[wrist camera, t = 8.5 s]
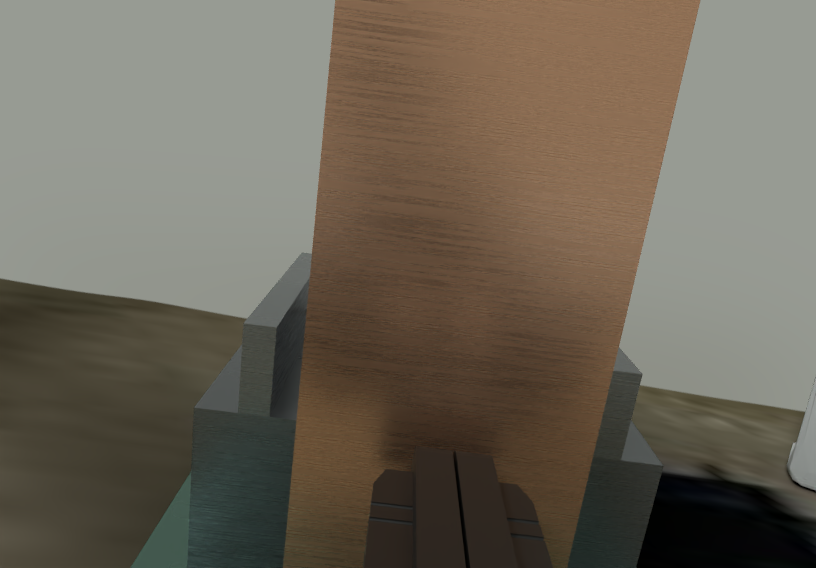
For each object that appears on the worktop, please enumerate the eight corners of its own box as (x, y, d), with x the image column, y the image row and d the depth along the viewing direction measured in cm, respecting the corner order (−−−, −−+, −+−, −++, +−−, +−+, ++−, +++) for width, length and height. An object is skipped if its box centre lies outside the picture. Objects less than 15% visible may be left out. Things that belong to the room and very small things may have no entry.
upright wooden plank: (270, 702, 14) (354, -210, 10) (334, 445, 25) (387, -36, 21) (528, 732, 14) (736, -154, 10) (479, 463, 26) (565, -10, 21)
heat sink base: (-359, 1432, 7) (-808, 334, 3) (259, 380, 34) (277, 140, 30) (1051, 1551, 7) (1891, 663, 4) (549, 417, 34) (598, 183, 31)
